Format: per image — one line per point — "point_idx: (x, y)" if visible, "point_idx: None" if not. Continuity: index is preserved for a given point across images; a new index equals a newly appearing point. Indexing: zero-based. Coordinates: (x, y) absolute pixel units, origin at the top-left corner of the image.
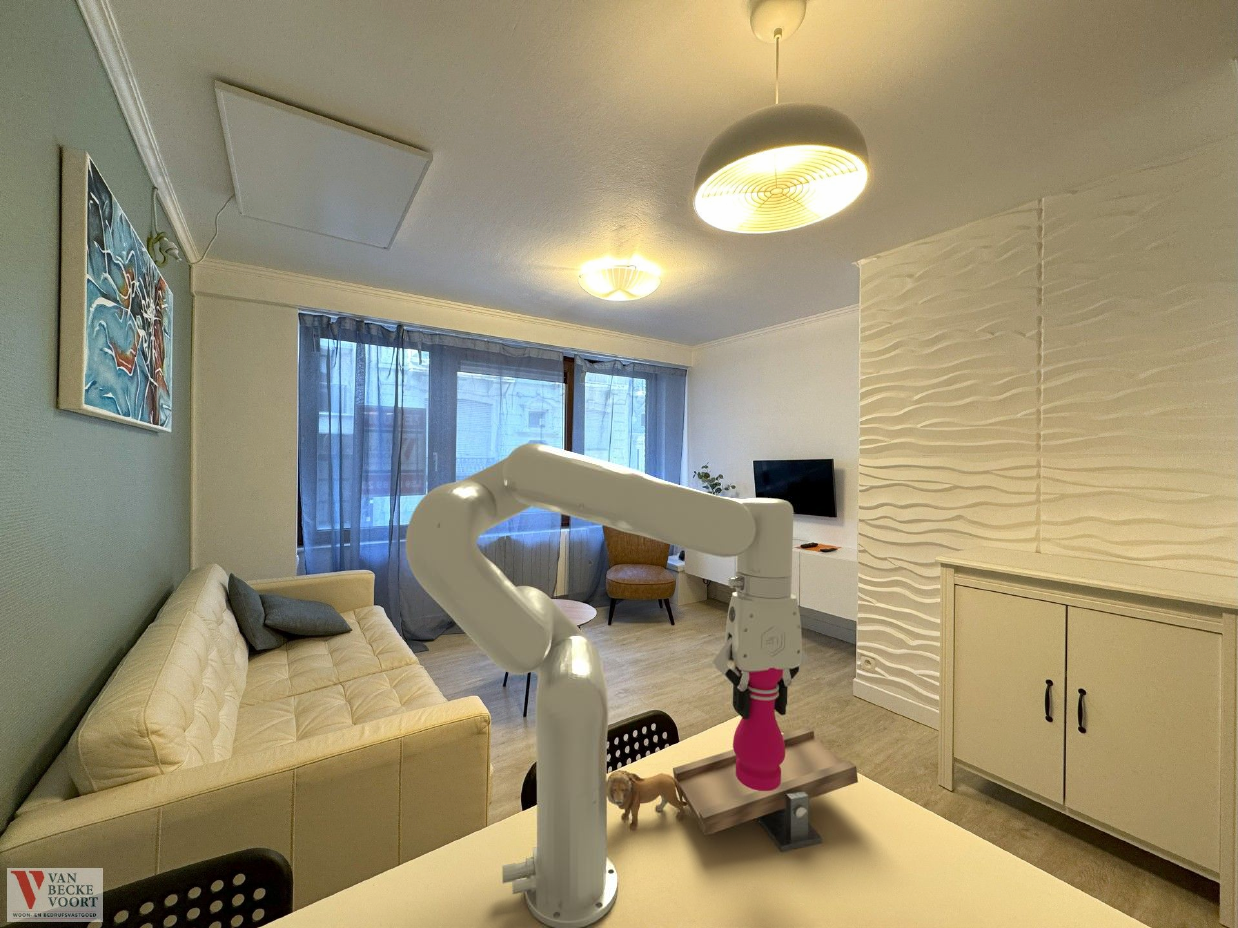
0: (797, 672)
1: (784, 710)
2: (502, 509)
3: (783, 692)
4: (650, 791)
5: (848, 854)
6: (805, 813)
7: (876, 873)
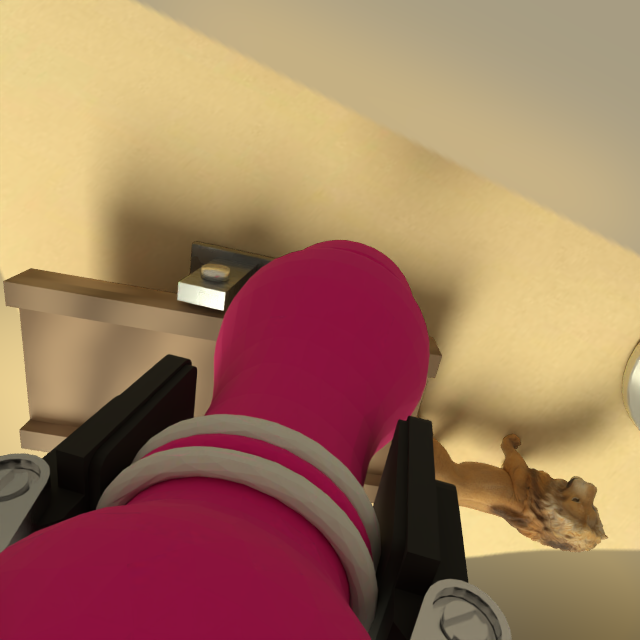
0: None
1: (166, 365)
2: None
3: (107, 433)
4: (484, 476)
5: (169, 194)
6: (207, 266)
7: (152, 133)
